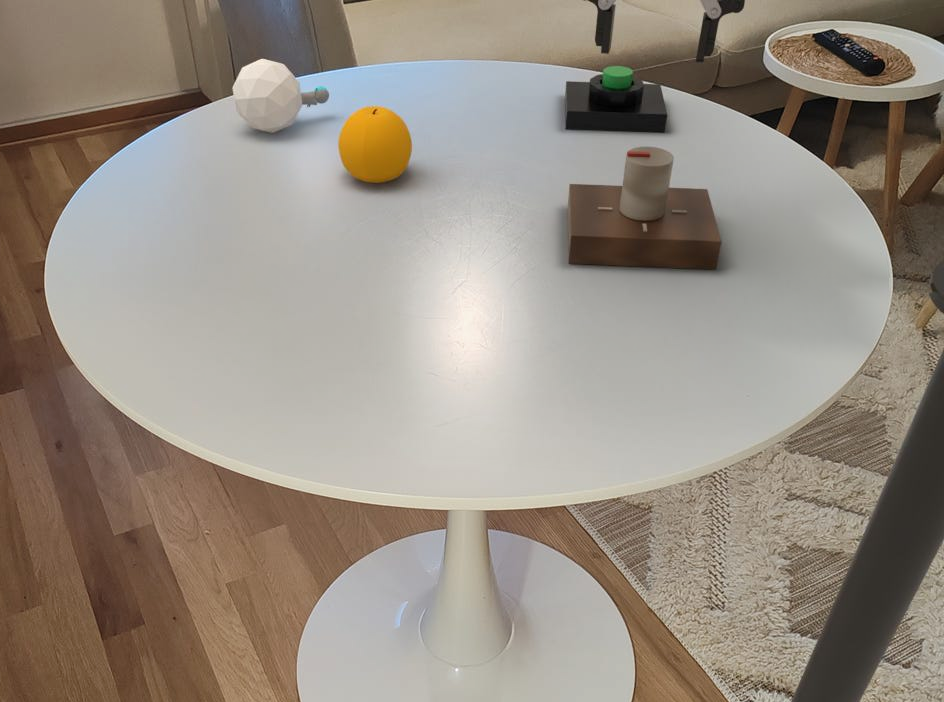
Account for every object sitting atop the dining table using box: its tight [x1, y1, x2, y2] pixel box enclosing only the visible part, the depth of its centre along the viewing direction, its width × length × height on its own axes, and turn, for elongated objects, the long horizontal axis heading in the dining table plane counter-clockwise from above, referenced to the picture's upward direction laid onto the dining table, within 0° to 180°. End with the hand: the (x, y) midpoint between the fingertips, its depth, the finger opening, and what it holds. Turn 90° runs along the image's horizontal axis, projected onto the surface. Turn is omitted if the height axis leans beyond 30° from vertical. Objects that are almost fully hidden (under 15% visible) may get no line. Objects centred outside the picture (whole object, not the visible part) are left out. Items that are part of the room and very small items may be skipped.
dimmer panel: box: [566, 183, 722, 271], centre depth 91 cm, size 14×11×3 cm
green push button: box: [602, 65, 634, 89], centre depth 113 cm, size 4×4×2 cm
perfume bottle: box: [232, 58, 330, 134], centre depth 110 cm, size 8×8×12 cm
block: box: [564, 73, 668, 133], centre depth 114 cm, size 12×10×4 cm
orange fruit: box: [337, 105, 413, 184], centre depth 100 cm, size 8×8×8 cm
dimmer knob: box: [620, 146, 675, 221], centre depth 88 cm, size 4×4×6 cm
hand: (652, 55), depth 84 cm, fingers open, 8 cm apart
